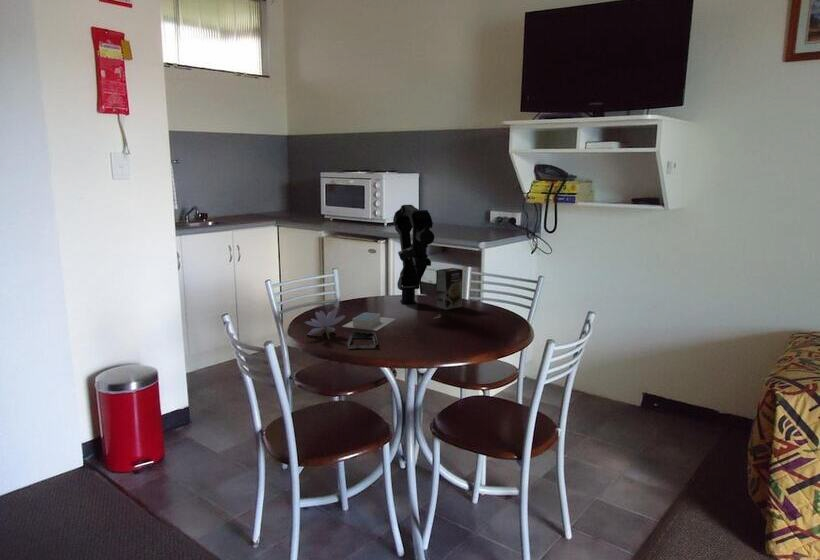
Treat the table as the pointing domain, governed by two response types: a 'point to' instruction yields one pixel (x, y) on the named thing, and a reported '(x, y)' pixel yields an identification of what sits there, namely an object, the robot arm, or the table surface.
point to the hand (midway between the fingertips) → (419, 280)
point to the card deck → (366, 320)
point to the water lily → (324, 322)
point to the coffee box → (449, 288)
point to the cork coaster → (437, 316)
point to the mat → (376, 327)
